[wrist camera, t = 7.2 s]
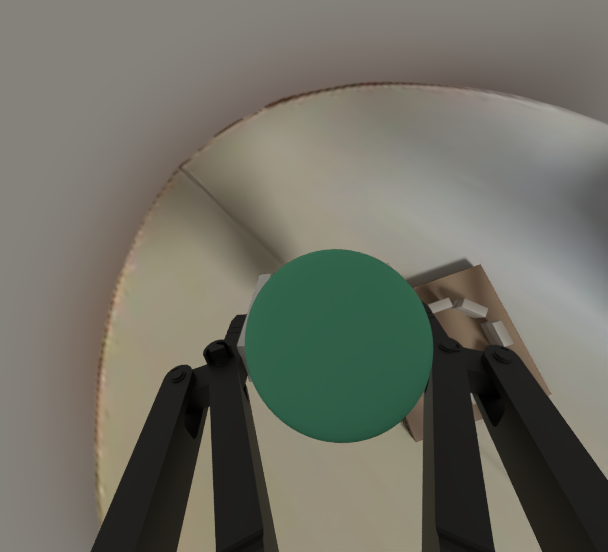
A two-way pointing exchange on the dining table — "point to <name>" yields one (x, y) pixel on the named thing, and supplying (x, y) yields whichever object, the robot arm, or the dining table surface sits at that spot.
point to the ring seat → (470, 325)
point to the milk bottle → (338, 346)
